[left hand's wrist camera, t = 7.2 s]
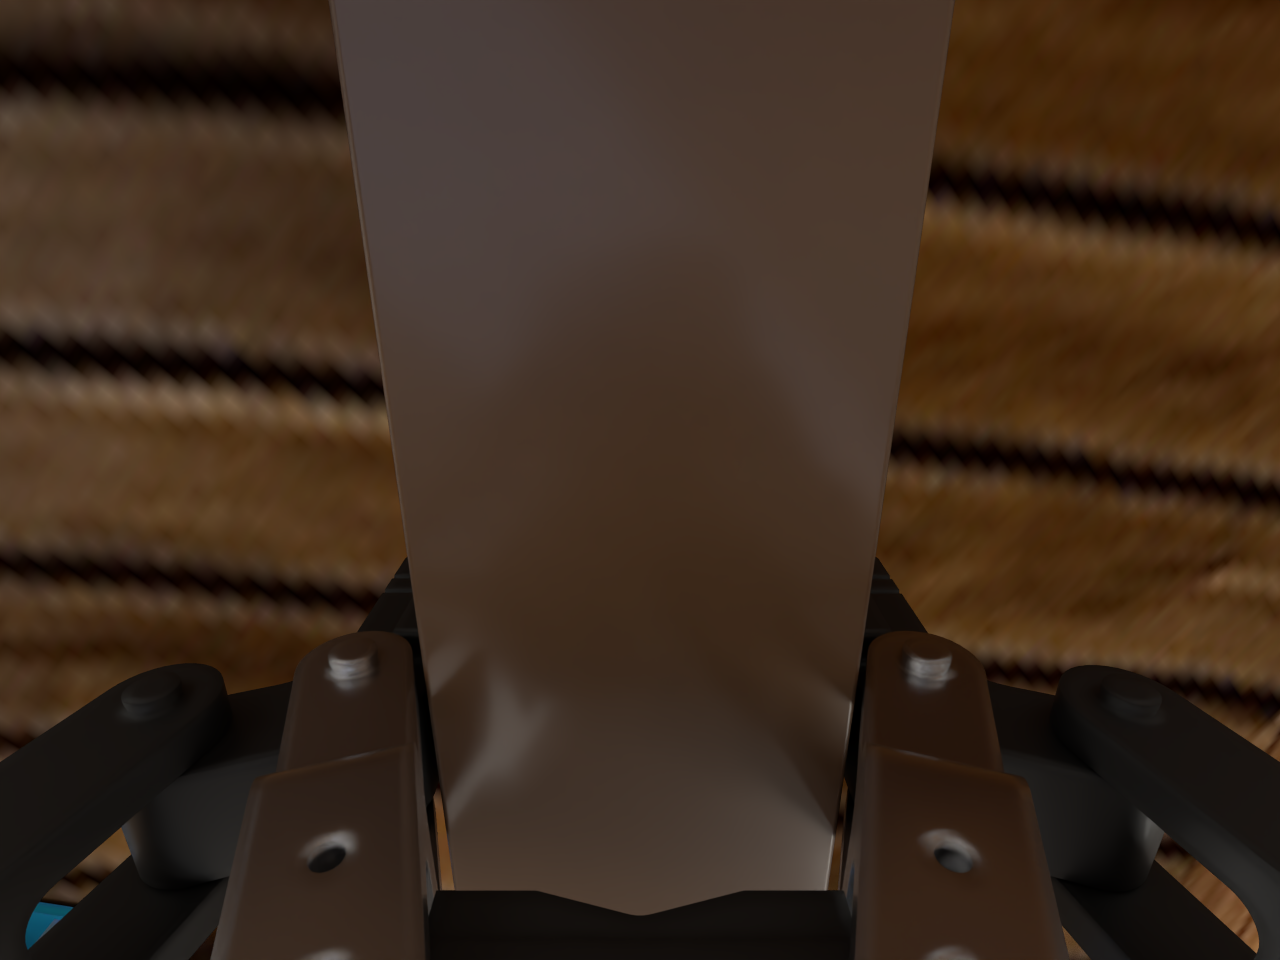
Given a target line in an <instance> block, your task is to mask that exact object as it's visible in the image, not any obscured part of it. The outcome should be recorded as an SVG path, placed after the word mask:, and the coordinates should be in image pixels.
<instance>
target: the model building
mask: <svg viewBox="0 0 1280 960" xmlns="http://www.w3.org/2000/svg"><path fill="white" fill-rule="evenodd" d="M73 908H74V907H69V906H62V905H56V904H49V903H43V902H39V903H38V905H37V906H36V908H35V910H34V911H33V913H32V915H31V917H30V920H29V922H28V925H27V929H26V935H25V942H26V946H27V949H29V948H30V947H31V946H32V945H33V944H35V943H36V942H37V941H38V940H39V939H40V938H41V937H42V936H43V935H44V934H45V933H47V932H48V931H49V930H50V929H51V928H52V927H53V926H54V925H55V924H56V923H57V922H58V921H60V920H61V919H62V918H63V917H64V916H65V915H66V914H67V913H68V912H69V911H70V910H72V909H73Z"/></svg>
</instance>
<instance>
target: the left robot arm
mask: <svg viewBox="0 0 1280 960" xmlns="http://www.w3.org/2000/svg"><path fill="white" fill-rule="evenodd" d="M844 778H845V780H846V783H847V786H848V791H847V798H846V804H845V811H844V822H843V834H842V847H841V859H840V871H839V883H838V890H743V891H739V892H736V893H732V894H728V895H724V896H720V897H716V898H712V899H708V900H704V901H700V902H697V903H693V904H689V905H685V906H681V907H677V908H673V909H669V910H665V911H661V912H657V913H654V914H649V915H631V914H626V913H623V912H619V911H615V910H611V909H607V908H603V907H599V906H595V905H591V904H587V903H583V902H580V901H576V900H572V899H568V898H564V897H560V896H556V895H552V894H548V893H544V892H541V891H537V890H442V883H441V871H440V859H439V846H438V834H437V822H436V811H435V804H434V798H433V796H434V794H435V791H436V788H437V785H438V782H439V775H438V768H437V761H436V754H435V747H434V740H433V733H432V726H431V719H430V712H429V705H428V698H427V690H426V683H425V676H424V669H423V662H422V655H421V648H420V641H419V634H418V627H417V620H416V613H415V606H414V599H413V592H412V585H411V578H410V571H409V564H408V557H407V558H405V560H404V562H403V563H402V565H401V566H400V568H399V569H398V571H397V572H396V574H395V578H394V579H392V580H391V581H390V583H389V584H388V586H387V587H386V589H385V593H383V594H382V595H381V597H380V598H379V600H378V601H377V603H376V604H375V606H374V607H373V609H372V610H371V612H370V613H369V615H368V616H367V618H366V619H365V621H364V623H363V624H362V626H361V627H360V629H359V630H358V632H356V633H351V634H347V635H344V636H340V637H337V638H335V639H332V640H330V641H328V642H326V643H324V644H322V645H320V646H318V647H317V648H315V649H314V650H312V651H311V652H310V653H308V654H307V655H306V656H305V657H304V658H303V659H302V660H301V661H300V663H299V665H298V666H297V668H296V671H295V674H294V679H293V681H291V682H288V683H284V684H280V685H275V686H270V687H265V688H260V689H255V690H250V691H245V692H240V693H235V694H230V695H227V691H226V687H225V684H224V680H223V677H222V675H221V673H220V672H219V671H218V670H217V669H215V668H213V667H211V666H208V665H204V664H196V663H185V664H175V665H170V666H164V667H160V668H157V669H153V670H150V671H147V672H144V673H141V674H139V675H136V676H134V677H132V678H129V679H127V680H125V681H123V682H121V683H119V684H118V685H116V686H114V687H113V688H111V689H109V690H108V691H106V692H105V693H103V694H102V695H100V696H99V697H97V698H96V699H94V700H93V701H91V702H90V703H88V704H87V705H85V706H84V707H82V708H81V709H79V710H78V711H76V712H75V713H73V714H72V715H70V716H69V717H67V718H66V719H64V720H63V721H61V722H60V723H58V724H57V725H55V726H54V727H52V728H51V729H49V730H48V731H46V732H45V733H43V734H42V735H40V736H39V737H37V738H36V739H34V740H33V741H31V742H30V743H28V744H27V745H25V746H24V747H22V748H21V749H19V750H18V751H16V752H15V753H13V754H12V755H10V756H9V757H7V758H6V759H4V760H3V761H1V762H0V960H189V958H190V957H191V956H192V955H193V954H194V953H195V951H196V950H197V949H198V948H199V947H200V946H201V944H202V943H203V942H204V941H205V940H206V939H207V938H208V936H209V935H210V934H211V933H212V932H213V931H214V929H215V928H216V927H217V926H218V929H217V933H216V938H215V942H214V946H213V951H212V955H211V959H210V960H1070V959H1069V955H1068V951H1067V946H1066V942H1065V938H1064V933H1063V929H1062V926H1063V927H1064V928H1065V929H1066V931H1067V932H1068V933H1069V934H1070V935H1071V936H1072V937H1073V939H1074V940H1075V941H1076V942H1077V943H1078V944H1079V946H1080V947H1081V948H1082V949H1083V950H1084V951H1085V953H1086V954H1087V955H1088V956H1089V957H1090V958H1091V960H1280V762H1279V761H1277V760H1276V759H1274V758H1273V757H1271V756H1270V755H1268V754H1267V753H1265V752H1264V751H1262V750H1261V749H1259V748H1258V747H1256V746H1255V745H1253V744H1252V743H1250V742H1249V741H1247V740H1246V739H1244V738H1243V737H1241V736H1240V735H1238V734H1237V733H1235V732H1234V731H1232V730H1231V729H1229V728H1228V727H1226V726H1225V725H1223V724H1222V723H1220V722H1219V721H1217V720H1216V719H1214V718H1213V717H1211V716H1210V715H1208V714H1207V713H1205V712H1204V711H1202V710H1201V709H1199V708H1198V707H1196V706H1195V705H1193V704H1192V703H1190V702H1189V701H1187V700H1186V699H1184V698H1183V697H1181V696H1180V695H1178V694H1177V693H1175V692H1174V691H1172V690H1170V689H1169V688H1167V687H1165V686H1164V685H1162V684H1160V683H1158V682H1156V681H1154V680H1152V679H1149V678H1147V677H1144V676H1142V675H1139V674H1136V673H1133V672H1130V671H1127V670H1123V669H1119V668H1114V667H1108V666H1099V665H1085V666H1078V667H1074V668H1071V669H1069V670H1067V671H1065V672H1064V673H1063V674H1062V676H1061V678H1060V680H1059V684H1058V688H1057V691H1056V695H1050V694H1045V693H1040V692H1035V691H1030V690H1025V689H1020V688H1015V687H1010V686H1006V685H1002V684H998V683H994V682H991V681H988V680H987V679H986V674H985V671H984V668H983V666H982V664H981V663H980V661H979V660H978V659H977V658H976V657H975V656H974V655H973V654H972V653H970V652H969V651H968V650H966V649H965V648H963V647H962V646H960V645H958V644H956V643H954V642H952V641H950V640H948V639H945V638H943V637H940V636H936V635H933V634H929V633H927V631H926V630H925V628H924V627H923V625H922V624H921V622H920V621H919V619H918V618H917V616H916V615H915V613H914V612H913V610H912V609H911V607H910V606H909V604H908V603H907V601H906V600H905V598H904V597H903V595H902V594H899V589H898V588H897V586H896V585H895V583H894V582H893V580H892V579H890V576H889V574H888V573H887V571H886V570H885V568H884V567H883V565H882V564H881V562H880V561H879V559H878V558H876V557H875V562H874V569H873V576H872V583H871V590H870V597H869V604H868V611H867V618H866V625H865V632H864V639H863V646H862V653H861V660H860V667H859V674H858V681H857V688H856V695H855V702H854V709H853V716H852V723H851V730H850V737H849V744H848V751H847V758H846V765H845V772H844ZM121 827H122V830H123V833H124V835H125V838H126V841H127V844H128V846H129V849H130V852H131V855H130V856H129V857H128V858H127V859H126V860H125V861H124V862H123V863H122V864H120V865H119V866H118V867H117V868H116V869H115V870H114V871H113V872H112V873H111V874H110V875H108V876H107V877H106V878H105V879H104V880H103V881H102V882H101V883H100V884H99V885H98V886H97V887H95V888H94V889H93V890H92V891H91V892H90V893H89V894H88V895H87V896H86V897H85V898H83V899H82V900H81V901H80V902H79V903H78V904H77V905H76V906H75V907H74V908H73V909H72V910H70V911H69V912H68V913H67V914H66V915H65V916H64V917H63V918H62V919H61V920H60V921H58V922H57V923H56V924H55V925H54V926H53V927H52V928H51V929H50V930H49V931H48V932H47V933H45V934H44V935H43V936H42V937H41V938H40V939H39V940H38V941H37V942H36V943H35V944H33V945H32V946H31V947H30V948H29V949H27V946H26V942H25V935H26V929H27V925H28V922H29V920H30V917H31V915H32V913H33V911H34V910H35V908H36V906H37V905H38V903H39V902H40V900H41V899H42V898H43V896H44V895H45V894H46V893H47V892H48V891H49V890H50V889H51V888H52V887H53V886H54V885H55V884H56V883H57V882H58V881H59V880H61V879H62V878H63V877H64V876H65V875H66V874H68V873H69V872H70V871H71V870H72V869H73V868H74V867H76V866H77V865H78V864H79V863H80V862H81V861H83V860H84V859H85V858H86V857H87V856H88V855H89V854H91V853H92V852H93V851H94V850H95V849H96V848H97V847H99V846H100V845H101V844H102V843H103V842H104V841H106V840H107V839H108V838H109V837H110V836H111V835H112V834H114V833H115V832H116V831H117V830H118V829H119V828H121ZM1164 832H1165V833H1166V834H1168V835H1169V836H1170V837H1171V838H1172V839H1173V840H1174V841H1176V842H1177V843H1178V844H1179V845H1180V846H1181V847H1183V848H1184V849H1185V850H1186V851H1187V852H1188V853H1189V854H1191V855H1192V856H1193V857H1194V858H1195V859H1196V860H1198V861H1199V862H1200V863H1201V864H1202V865H1203V866H1204V867H1206V868H1207V869H1208V870H1209V871H1210V872H1211V873H1212V874H1214V875H1215V876H1216V877H1217V878H1218V879H1219V880H1221V881H1222V882H1223V883H1224V884H1225V885H1226V886H1227V887H1229V888H1230V889H1231V890H1232V891H1233V892H1234V893H1235V894H1236V895H1237V896H1238V898H1239V899H1240V900H1241V901H1242V902H1243V904H1244V905H1245V906H1246V908H1247V909H1248V911H1249V913H1250V914H1251V916H1252V918H1253V920H1254V922H1255V925H1256V928H1257V931H1258V935H1259V949H1258V952H1257V954H1256V953H1255V952H1254V951H1253V950H1252V949H1251V948H1250V947H1249V946H1248V945H1247V944H1245V943H1244V942H1243V941H1242V940H1241V939H1240V938H1239V937H1238V936H1237V935H1236V934H1235V933H1234V932H1232V931H1231V930H1230V929H1229V928H1228V927H1227V926H1226V925H1225V924H1224V923H1223V922H1222V921H1220V920H1219V919H1218V918H1217V917H1216V916H1215V915H1214V914H1213V913H1212V912H1211V911H1210V910H1208V909H1207V908H1206V907H1205V906H1204V905H1203V904H1202V903H1201V902H1200V901H1199V900H1198V899H1197V898H1195V897H1194V896H1193V895H1192V894H1191V893H1190V892H1189V891H1188V890H1187V889H1186V888H1185V887H1183V886H1182V885H1181V884H1180V883H1179V882H1178V881H1177V880H1176V879H1175V878H1174V877H1173V876H1172V875H1170V874H1169V873H1168V872H1167V871H1166V870H1165V869H1164V868H1163V867H1162V866H1161V865H1160V864H1158V863H1157V862H1156V861H1155V860H1154V858H1155V855H1156V853H1157V850H1158V847H1159V845H1160V842H1161V839H1162V837H1163V834H1164Z"/></svg>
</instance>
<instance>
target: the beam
mask: <svg viewBox="0 0 1280 960" xmlns="http://www.w3.org/2000/svg"><path fill="white" fill-rule="evenodd" d="M954 3H955V0H329V7H330V14H331V21H332V28H333V35H334V42H335V49H336V56H337V63H338V70H339V78H340V85H341V92H342V99H343V106H344V113H345V120H346V127H347V134H348V141H349V148H350V155H351V162H352V169H353V176H354V183H355V190H356V197H357V204H358V211H359V218H360V225H361V233H362V240H363V247H364V254H365V261H366V268H367V275H368V282H369V289H370V296H371V303H372V310H373V317H374V324H375V331H376V338H377V345H378V352H379V359H380V366H381V373H382V380H383V388H384V395H385V402H386V409H387V416H388V423H389V430H390V437H391V444H392V451H393V458H394V465H395V472H396V479H397V486H398V493H399V500H400V507H401V514H402V521H403V528H404V535H405V543H406V550H407V557H408V564H409V571H410V578H411V585H412V592H413V599H414V606H415V613H416V620H417V627H418V634H419V641H420V648H421V655H422V662H423V669H424V676H425V683H426V690H427V698H428V705H429V712H430V719H431V726H432V733H433V740H434V747H435V754H436V761H437V768H438V775H439V782H440V789H441V796H442V803H443V810H444V817H445V824H446V831H447V838H448V845H449V853H450V860H451V867H452V874H453V881H454V888H455V890H537V891H541V892H544V893H548V894H552V895H556V896H560V897H564V898H568V899H572V900H576V901H580V902H583V903H587V904H591V905H595V906H599V907H603V908H607V909H611V910H615V911H619V912H623V913H626V914H631V915H649V914H654V913H657V912H661V911H665V910H669V909H673V908H677V907H681V906H685V905H689V904H693V903H697V902H700V901H704V900H708V899H712V898H716V897H720V896H724V895H728V894H732V893H736V892H739V891H743V890H828V884H829V877H830V870H831V863H832V856H833V849H834V842H835V835H836V828H837V821H838V814H839V807H840V800H841V793H842V786H843V779H844V772H845V765H846V758H847V751H848V744H849V737H850V730H851V723H852V716H853V709H854V702H855V695H856V688H857V681H858V674H859V667H860V660H861V653H862V646H863V639H864V632H865V625H866V618H867V611H868V604H869V597H870V590H871V583H872V576H873V569H874V562H875V555H876V548H877V541H878V534H879V527H880V520H881V513H882V506H883V499H884V492H885V485H886V478H887V471H888V464H889V457H890V450H891V443H892V436H893V429H894V422H895V415H896V408H897V401H898V394H899V387H900V380H901V374H902V367H903V360H904V353H905V346H906V339H907V332H908V325H909V318H910V311H911V304H912V297H913V290H914V283H915V276H916V269H917V262H918V255H919V248H920V241H921V234H922V227H923V220H924V213H925V206H926V199H927V192H928V185H929V178H930V171H931V164H932V157H933V150H934V143H935V136H936V129H937V122H938V115H939V108H940V101H941V94H942V87H943V80H944V73H945V66H946V59H947V52H948V45H949V38H950V31H951V24H952V17H953V10H954Z"/></svg>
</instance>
